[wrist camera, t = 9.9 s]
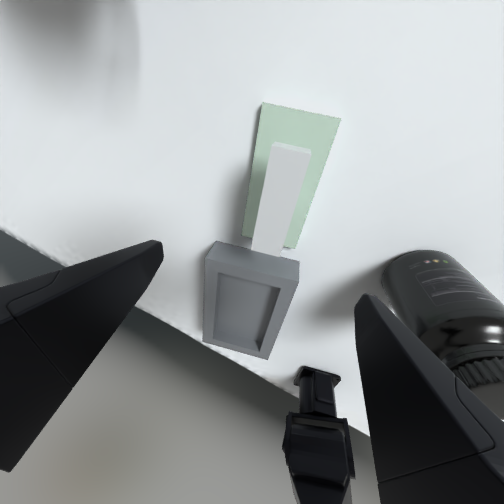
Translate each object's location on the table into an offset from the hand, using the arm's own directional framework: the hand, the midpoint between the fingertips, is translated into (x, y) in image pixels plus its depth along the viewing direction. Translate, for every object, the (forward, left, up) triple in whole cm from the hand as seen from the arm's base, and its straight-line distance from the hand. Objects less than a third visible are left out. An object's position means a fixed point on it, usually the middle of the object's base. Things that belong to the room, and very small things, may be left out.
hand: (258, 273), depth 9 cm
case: (-16, +1, -13) cm, 21 cm away
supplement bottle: (-6, -16, -13) cm, 22 cm away
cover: (0, 0, -13) cm, 13 cm away
